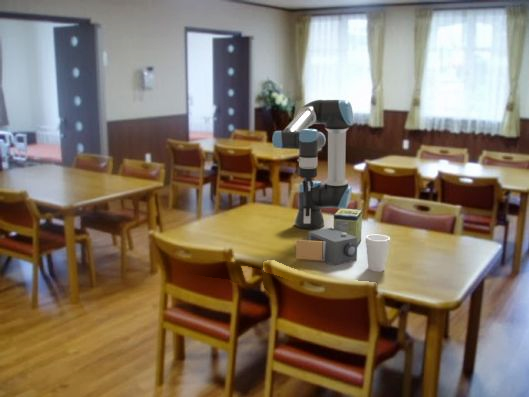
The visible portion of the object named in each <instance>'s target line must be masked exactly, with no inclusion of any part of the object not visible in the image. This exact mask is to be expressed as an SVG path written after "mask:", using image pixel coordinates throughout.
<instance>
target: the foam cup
mask: <svg viewBox="0 0 529 397" xmlns="http://www.w3.org/2000/svg"><path fill="white" fill-rule="evenodd" d="M390 244H391V237H390V236H389V235H385V234H378V233H377V234H375V233H374V234H368V235H366V236H365V247H366V255H367V258H366V259H367V266H368V267H367V268H368V270H370V271H371V272H372V271H373V272H384V271H385V268H386V264H387V257H388V253H389V248H390Z"/></svg>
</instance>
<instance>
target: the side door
mask: <svg viewBox="0 0 529 397" xmlns="http://www.w3.org/2000/svg"><path fill="white" fill-rule="evenodd" d="M295 242H296V244H295V246H296V247H295V248H296V250H295V252H296V253H295V259H298V260H309V261H324V262H326V261H325V252H326V242H325V241H323V256H322V241H308V240H307V239H305V240H303V239H296V240H295Z"/></svg>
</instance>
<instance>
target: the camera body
mask: <svg viewBox="0 0 529 397" xmlns="http://www.w3.org/2000/svg"><path fill="white" fill-rule="evenodd" d="M307 239H308V241H322V256H323V241H325V242H326V252H325V261H324V262H326V263H328V264H330V265H333V266H337V265H342V264H346V263H351V262H354V261H355V262H356V261H357V259H358V256H357V255H358V247H357V237H355V236H352V235H349V234H347V233H344V232H341V231H338V230H335V229H334V227H326V228H322V229H321V228H319V229H314V230H310V231H308V238H307Z"/></svg>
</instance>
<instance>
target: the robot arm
mask: <svg viewBox="0 0 529 397" xmlns="http://www.w3.org/2000/svg"><path fill="white" fill-rule="evenodd" d="M353 112H354V111H353V107H352V103H351V102H350V101H349V100H347V99H346V100H344V99H316V100H313V101H310V102H308V103H306V104H305V105H303V106H302V107H301V108H299V109H298V111H297V113H296V116H295V117H294V118H293V119H292V120H291V121H290V122H289V123H288V125H287V126H286V127H285V128H284V129H283V130H276V131H273V134H272V142H271V143H272V145H273V147H274V148H275V149H280V150H299V151H298V154H299V155H298V157H299V158H298V159H297V162H298V164H299V165H298V166H299V167H298V168H299V169H298V177H300V178H303V180H302V182H300V183H299V186H298V212H297V214H296V218H295V220H294V226H295V225H296V226H297V228H298V227H300V229H303V228H305V229H304V230H317V229H316V228H318V229H321V227H322V228H324V227H325V220H324V216H323V214H322V208H327V209H328V208H331V209H338V210H339V209H340V208H348V207H349V204H350V202H351V199H352V198H351V196H352V186H351V185H349V181H348V180H347V179H346V147H347V146H346V144H347V143H346V142H347V140H346V138H347V131H348V130H349V129H350V126H351V125H353V121H354V113H353ZM313 125H324V129H325V130H326V131H327V139H326V135H325V134H324V133H323V132H321V131H319V130H318V129H315V128H309V127H311V126H313ZM326 141H327V142H326ZM326 143H327V179H326V180H325V182H324V183H323V184H322V181H321V180H312V178H313V179H314V178H316V177H318V168H317V167H318V155H319V154H318V153H319V152H318V151H319V150H320V149H322V148H323V147H324V146H325V145H326ZM296 226H295V227H296ZM323 226H324V227H323Z"/></svg>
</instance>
